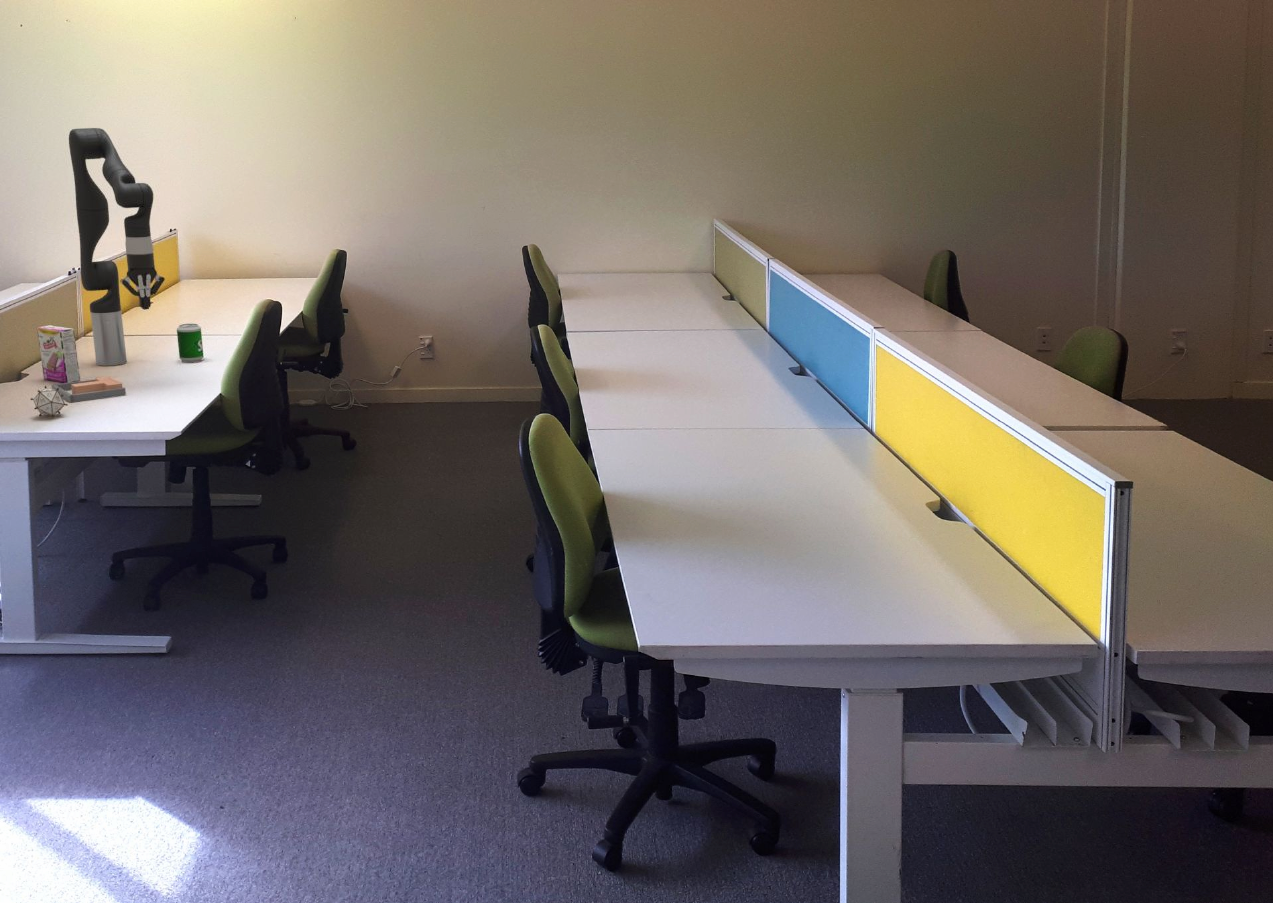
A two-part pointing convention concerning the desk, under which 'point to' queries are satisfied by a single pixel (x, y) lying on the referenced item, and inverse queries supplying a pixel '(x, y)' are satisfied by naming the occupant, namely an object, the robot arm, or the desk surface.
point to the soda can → (190, 343)
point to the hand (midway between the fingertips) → (145, 309)
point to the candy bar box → (58, 354)
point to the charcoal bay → (88, 395)
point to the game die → (49, 402)
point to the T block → (96, 385)
